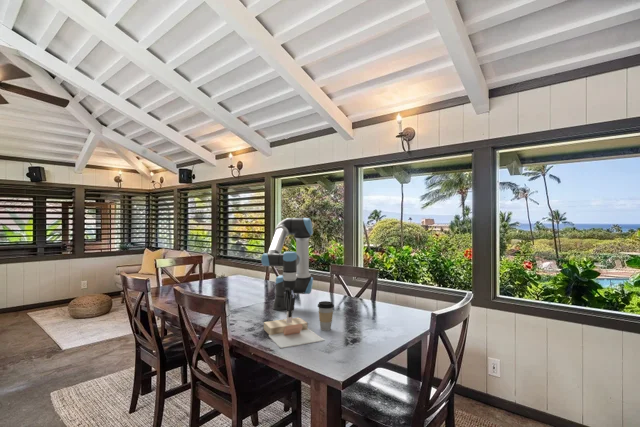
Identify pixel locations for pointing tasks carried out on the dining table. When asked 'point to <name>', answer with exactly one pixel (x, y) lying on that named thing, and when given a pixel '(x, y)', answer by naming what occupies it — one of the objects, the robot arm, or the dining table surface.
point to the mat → (296, 338)
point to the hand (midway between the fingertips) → (289, 322)
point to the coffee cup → (325, 315)
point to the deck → (282, 325)
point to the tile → (292, 329)
